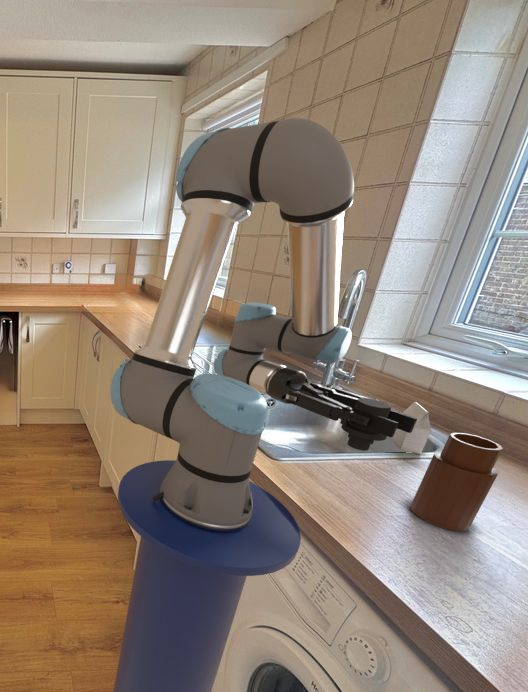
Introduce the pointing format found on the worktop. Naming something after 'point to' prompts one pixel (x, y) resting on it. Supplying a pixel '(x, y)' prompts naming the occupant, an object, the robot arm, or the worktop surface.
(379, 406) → the bung
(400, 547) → the worktop surface
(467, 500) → the brown stepped cylinder
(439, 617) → the worktop surface
